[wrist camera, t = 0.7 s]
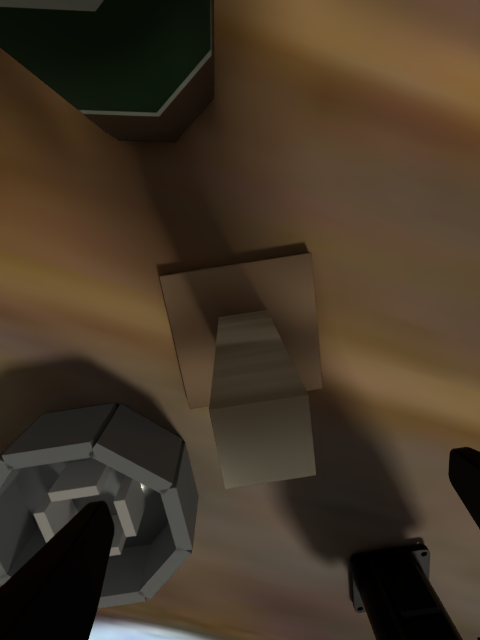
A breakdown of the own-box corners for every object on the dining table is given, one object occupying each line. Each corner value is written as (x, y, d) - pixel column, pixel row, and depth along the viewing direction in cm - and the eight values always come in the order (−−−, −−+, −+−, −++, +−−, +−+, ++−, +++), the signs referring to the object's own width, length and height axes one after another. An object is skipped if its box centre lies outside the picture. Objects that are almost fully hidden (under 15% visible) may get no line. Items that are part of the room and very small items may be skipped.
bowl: (207, 535, 24) (204, 592, 21) (48, 559, 24) (15, 620, 21) (173, 393, 21) (161, 431, 17) (-15, 422, 21) (-69, 466, 17)
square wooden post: (272, 354, 19) (316, 475, 10) (226, 361, 20) (225, 489, 10) (267, 309, 19) (308, 394, 9) (218, 317, 19) (208, 410, 9)
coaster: (319, 384, 21) (322, 388, 20) (190, 404, 21) (189, 409, 20) (308, 252, 18) (311, 252, 18) (161, 275, 18) (159, 276, 18)
